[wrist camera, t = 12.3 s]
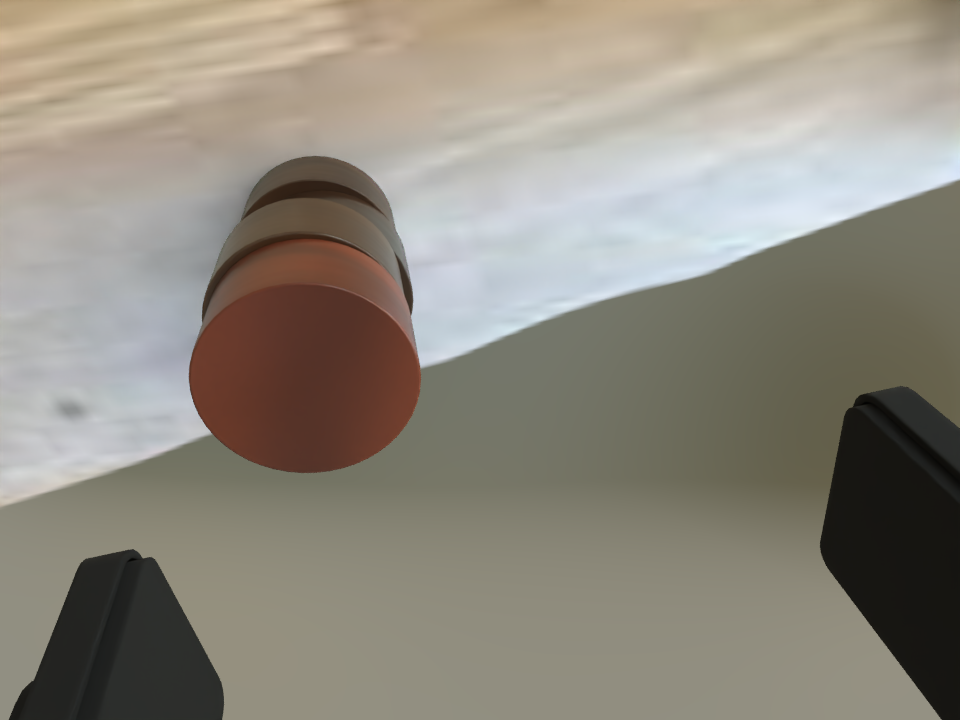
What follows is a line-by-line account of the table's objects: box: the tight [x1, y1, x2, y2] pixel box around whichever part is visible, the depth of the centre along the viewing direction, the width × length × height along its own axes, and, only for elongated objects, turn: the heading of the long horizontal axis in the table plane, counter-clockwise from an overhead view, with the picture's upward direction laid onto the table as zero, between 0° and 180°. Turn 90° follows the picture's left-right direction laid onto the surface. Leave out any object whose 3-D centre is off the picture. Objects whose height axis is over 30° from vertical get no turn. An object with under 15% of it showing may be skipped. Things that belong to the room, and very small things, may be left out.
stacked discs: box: [202, 156, 413, 323], centre depth 26 cm, size 7×7×9 cm
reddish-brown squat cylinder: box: [189, 239, 421, 473], centre depth 20 cm, size 6×6×3 cm
